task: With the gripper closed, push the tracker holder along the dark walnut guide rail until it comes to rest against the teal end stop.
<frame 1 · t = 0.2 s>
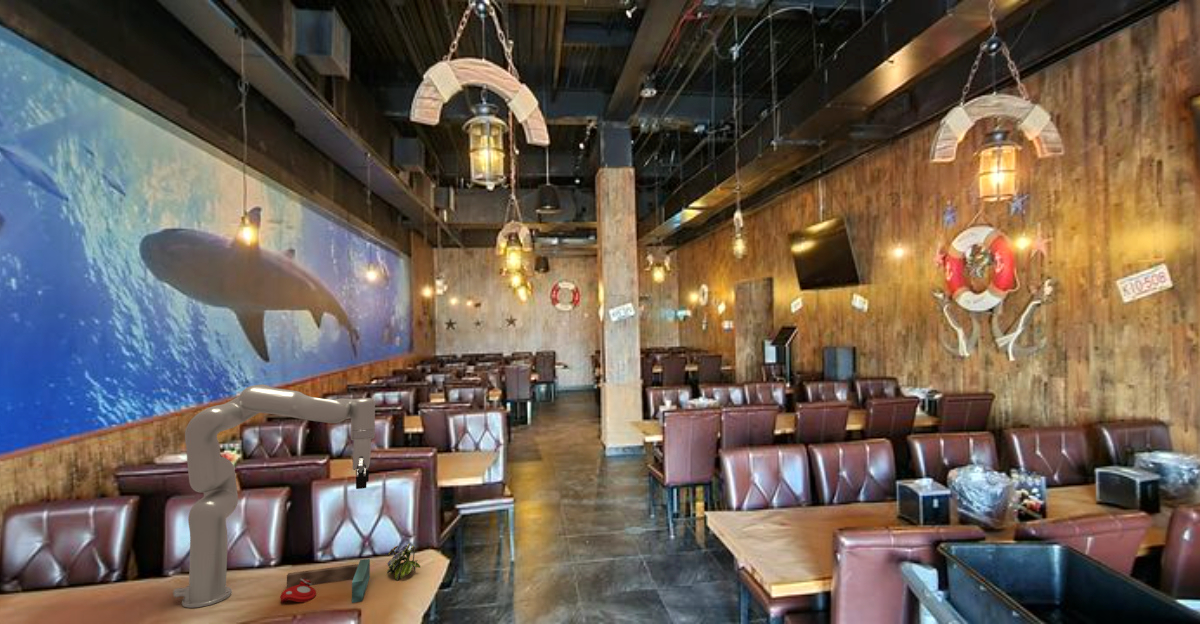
hand: (362, 485, 182), 31 cm above the table, tool pointing down, fingers open, 9 cm apart
tracker holder: (302, 597, 168), on the table
passion flower: (403, 574, 183), on the table
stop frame: (323, 591, 170), on the table
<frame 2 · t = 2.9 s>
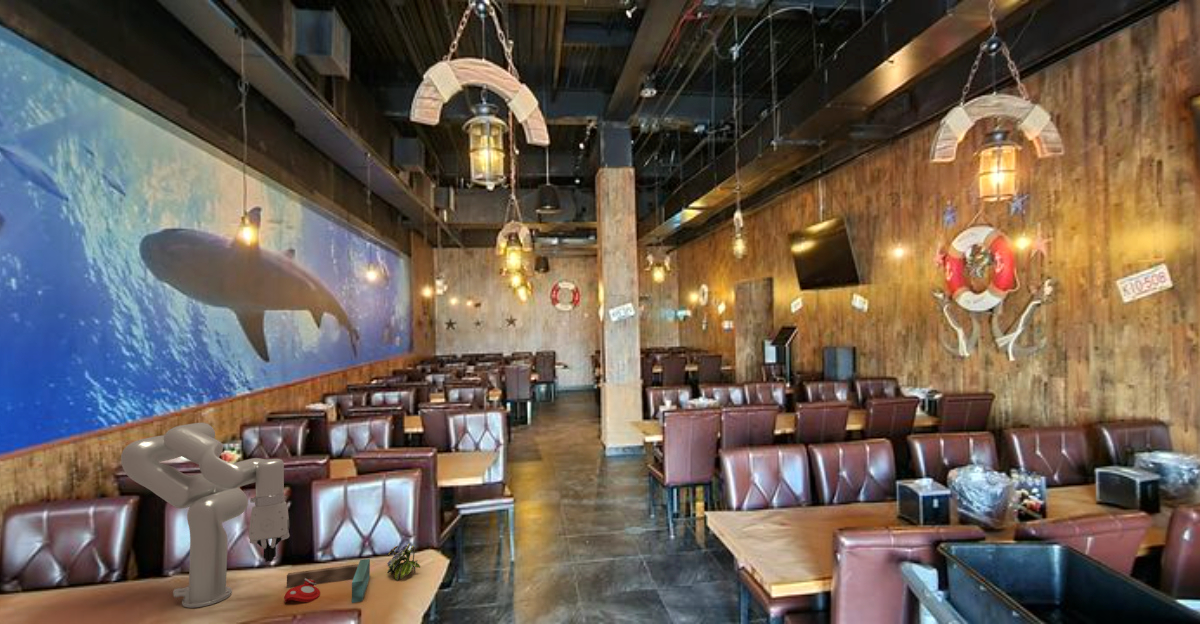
hand: (269, 560, 166), 12 cm above the table, tool pointing down, fingers closed
tracker holder: (306, 597, 168), on the table
everything else where it was.
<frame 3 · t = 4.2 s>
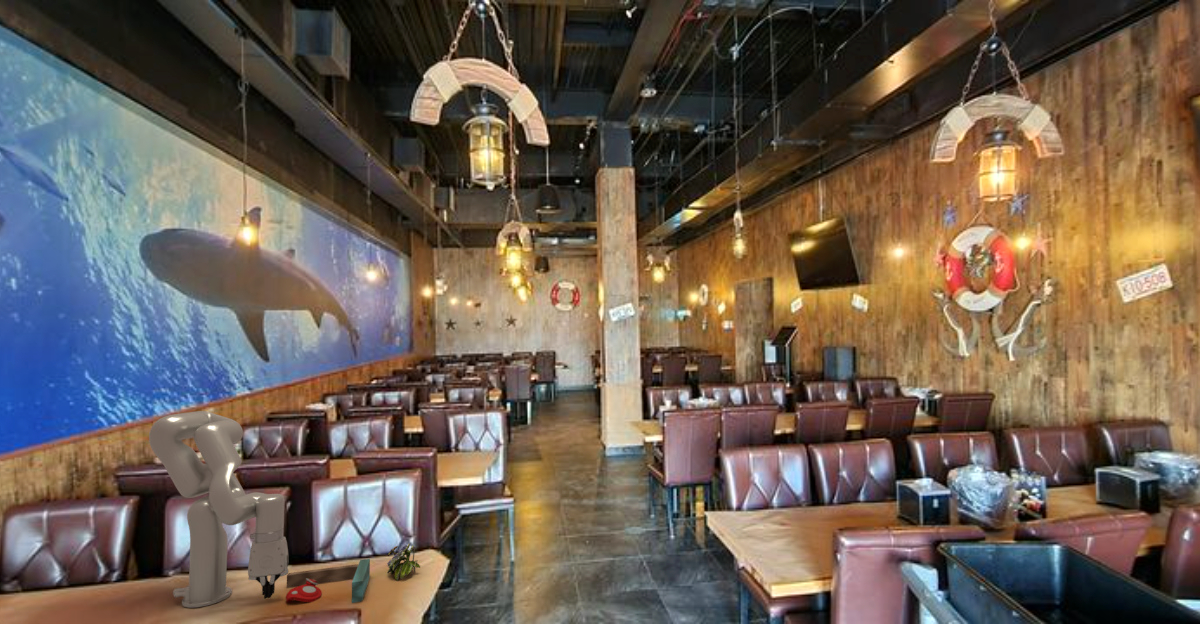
hand: (268, 596, 165), 1 cm above the table, tool pointing down, fingers closed
nothing on the table moved.
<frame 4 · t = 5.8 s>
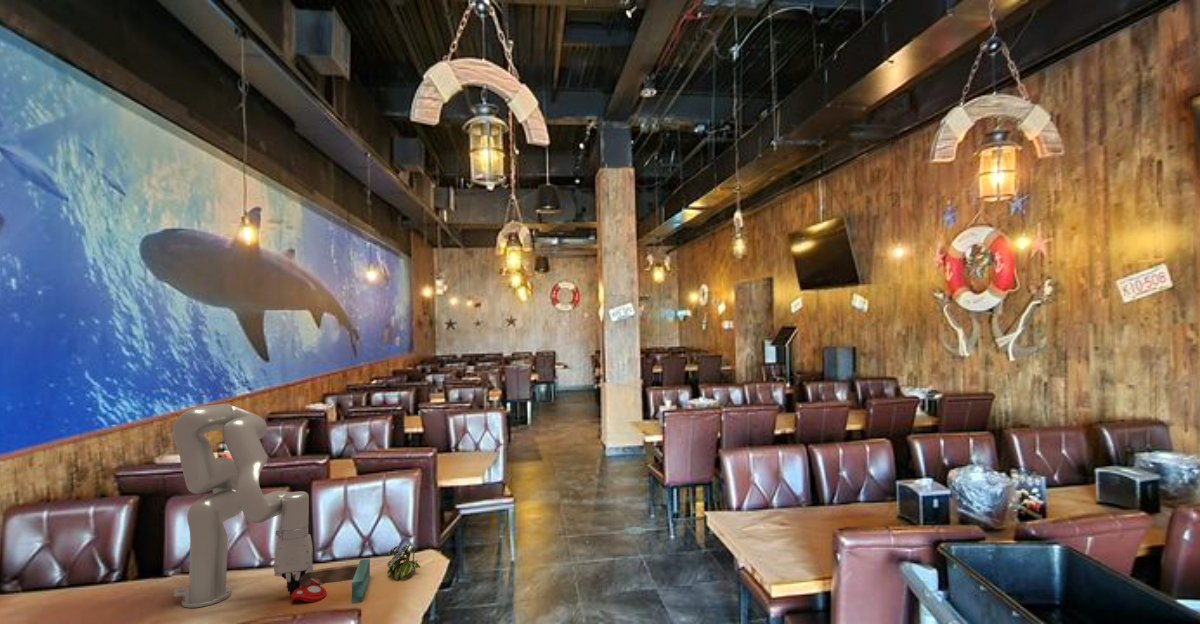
hand: (293, 592, 167), 1 cm above the table, tool pointing down, fingers closed
tracker holder: (312, 597, 168), on the table
everything else where it was.
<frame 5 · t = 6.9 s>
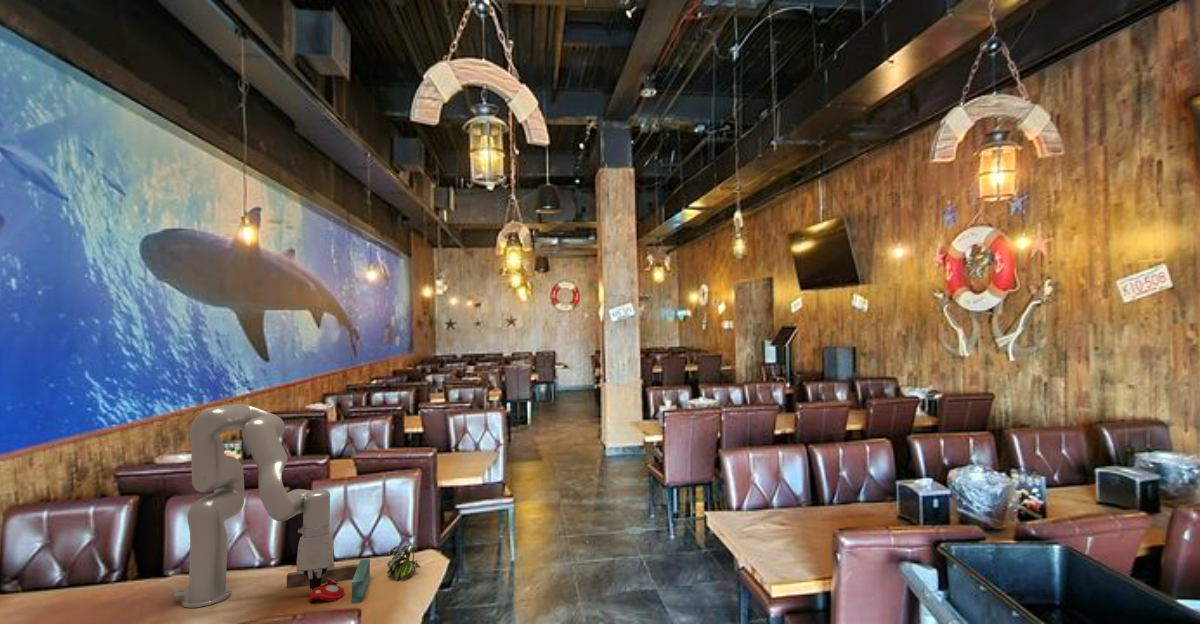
hand: (315, 589, 169), 1 cm above the table, tool pointing down, fingers closed
tracker holder: (330, 596, 168), on the table
everything else where it was.
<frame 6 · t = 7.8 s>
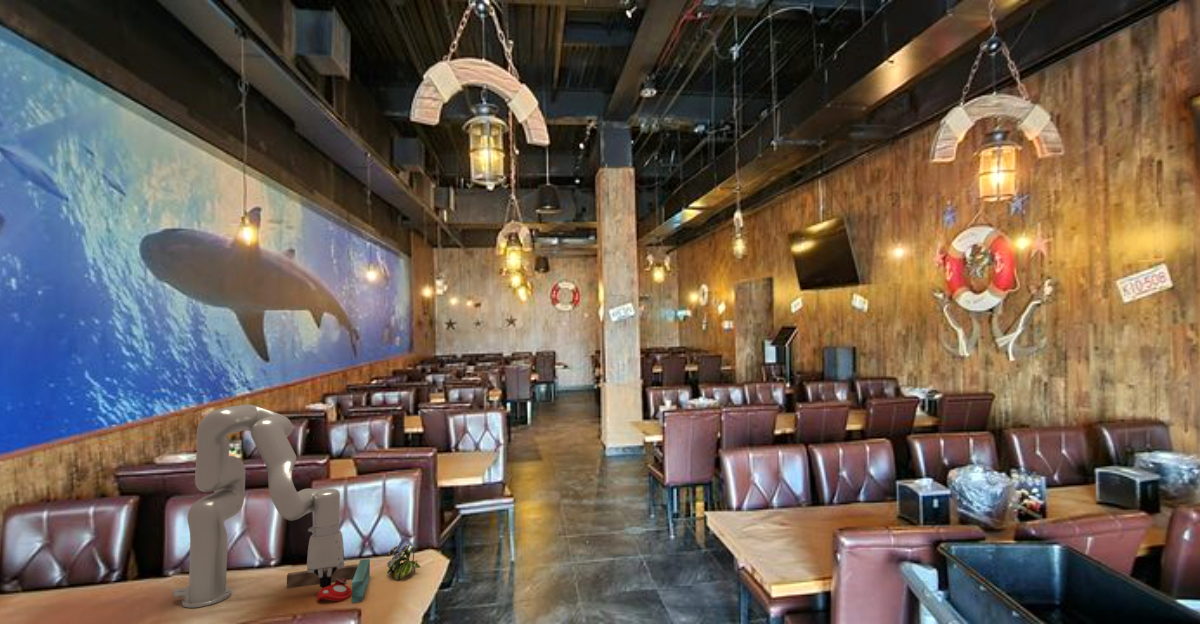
hand: (325, 588, 170), 1 cm above the table, tool pointing down, fingers closed
tracker holder: (338, 596, 168), on the table, touching gripper
everything else where it was.
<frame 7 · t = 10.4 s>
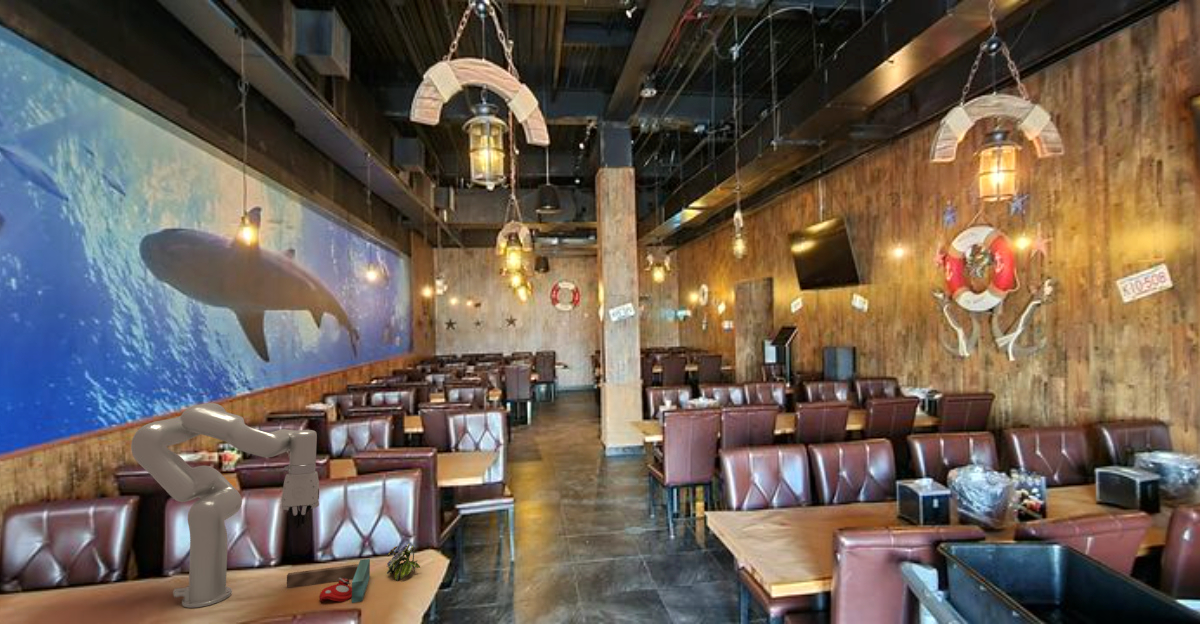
hand: (299, 526, 172), 20 cm above the table, tool pointing down, fingers closed
tracker holder: (340, 596, 167), on the table
everything else where it was.
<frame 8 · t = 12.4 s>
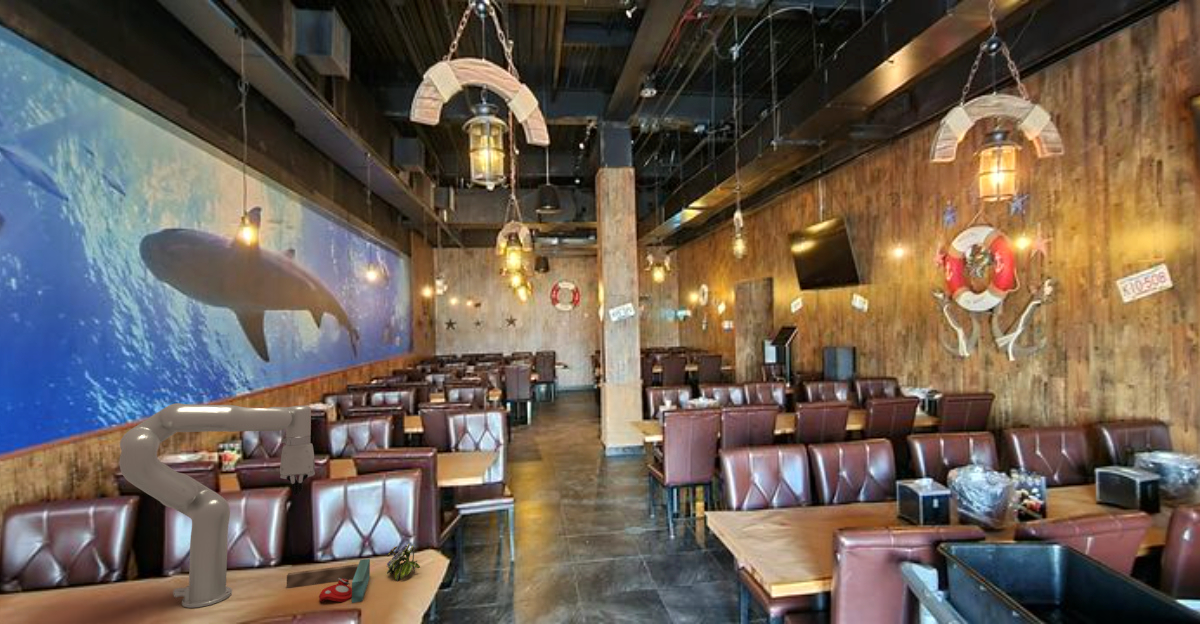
hand: (297, 494, 187), 27 cm above the table, tool pointing down, fingers closed
nothing on the table moved.
at the end: tracker holder inside the target area (4.1 cm from its centre), on the table; tracker holder tilted 0°; the gripper is holding nothing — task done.
